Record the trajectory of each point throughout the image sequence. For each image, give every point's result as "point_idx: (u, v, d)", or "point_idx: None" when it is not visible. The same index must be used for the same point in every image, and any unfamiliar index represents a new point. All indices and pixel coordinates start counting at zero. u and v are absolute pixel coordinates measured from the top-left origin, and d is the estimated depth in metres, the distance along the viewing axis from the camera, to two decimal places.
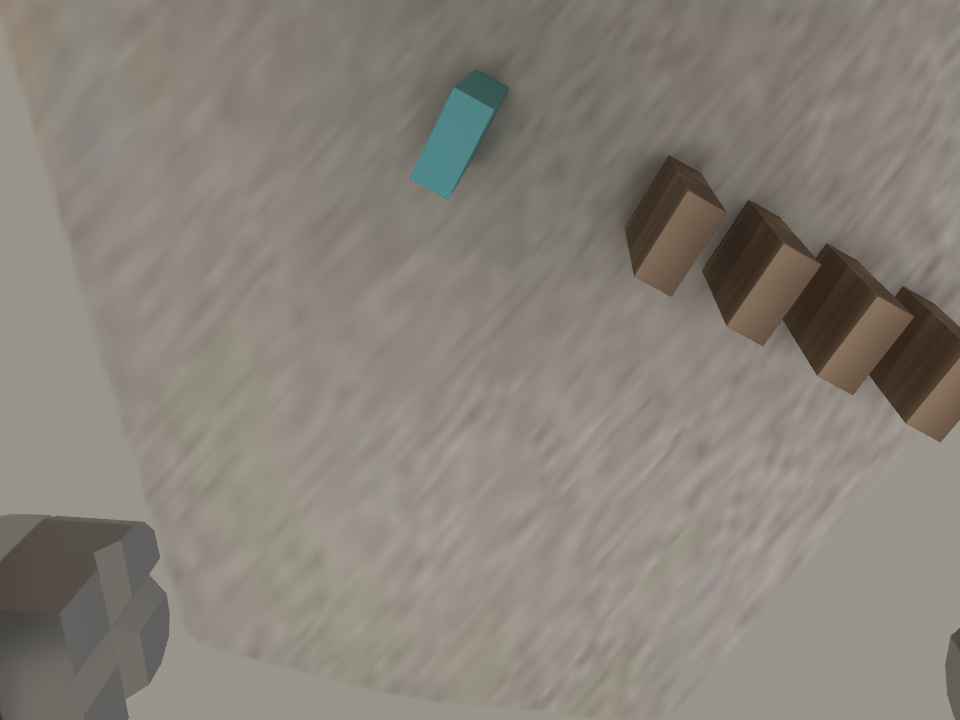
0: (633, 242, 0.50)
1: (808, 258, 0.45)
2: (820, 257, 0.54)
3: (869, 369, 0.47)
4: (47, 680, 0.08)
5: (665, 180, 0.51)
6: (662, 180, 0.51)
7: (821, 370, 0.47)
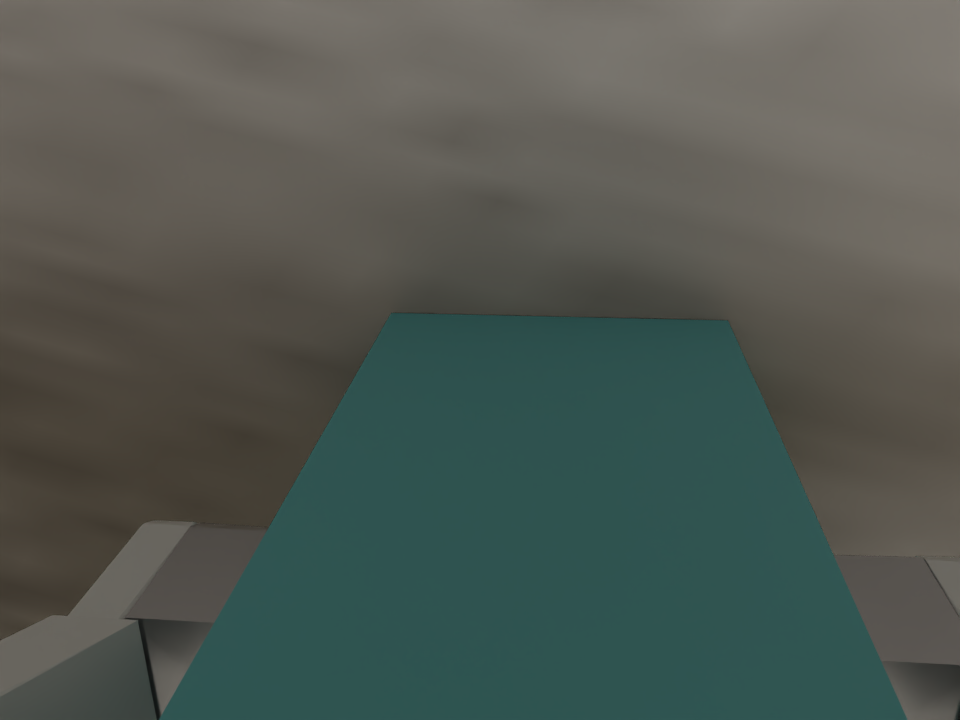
0: None
1: None
2: None
3: None
4: None
5: None
6: None
7: None
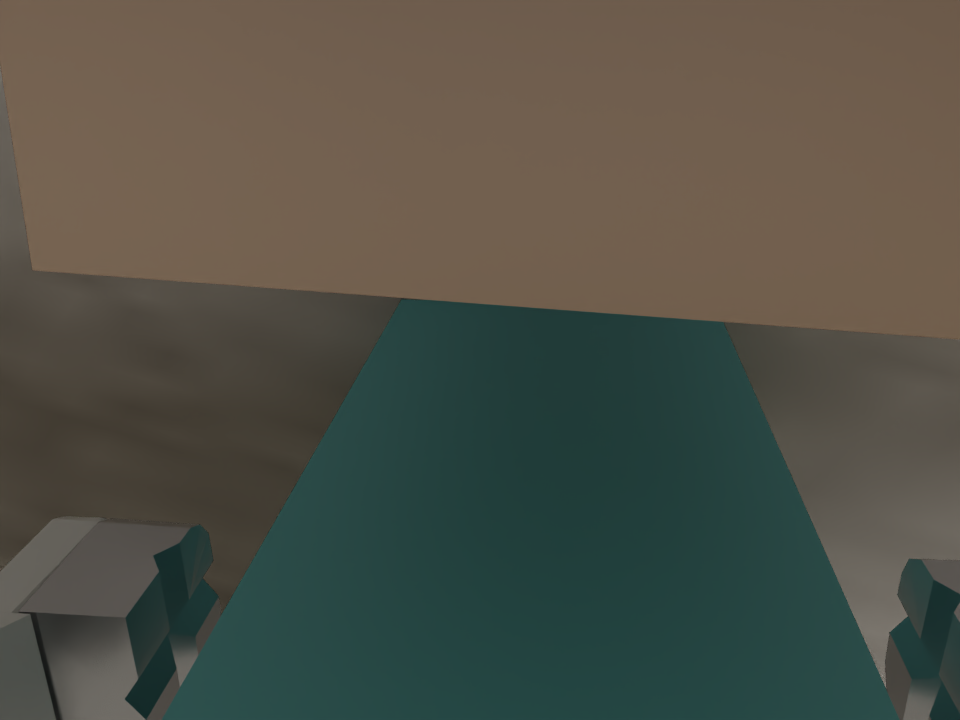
0: None
1: None
2: None
3: None
4: (111, 684, 0.08)
5: None
6: None
7: None
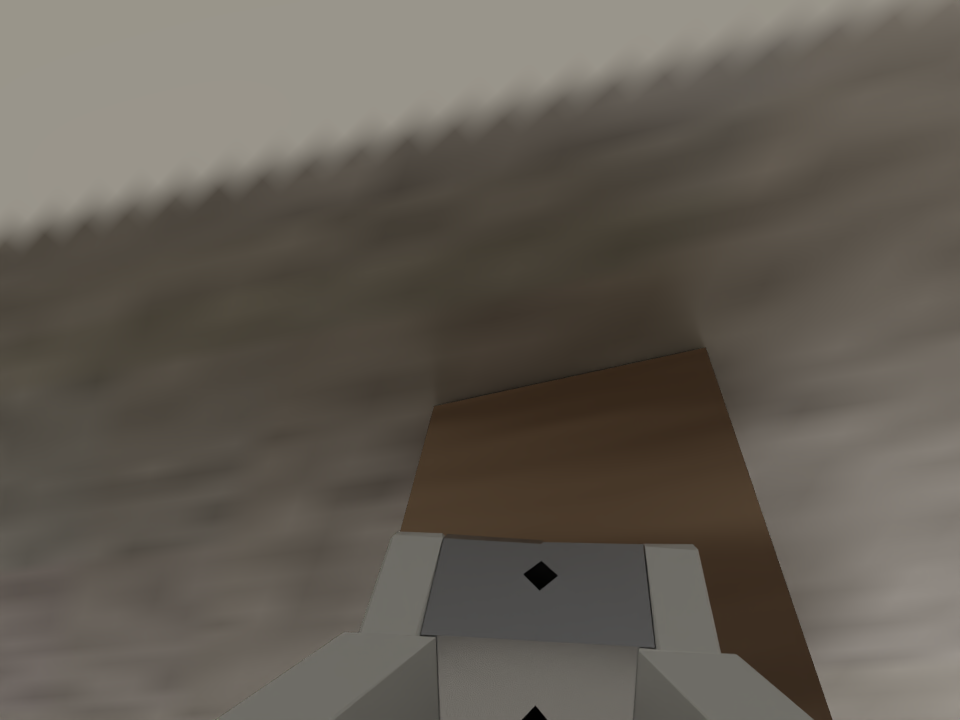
0: None
1: None
2: None
3: None
4: (504, 709, 0.07)
5: None
6: None
7: None
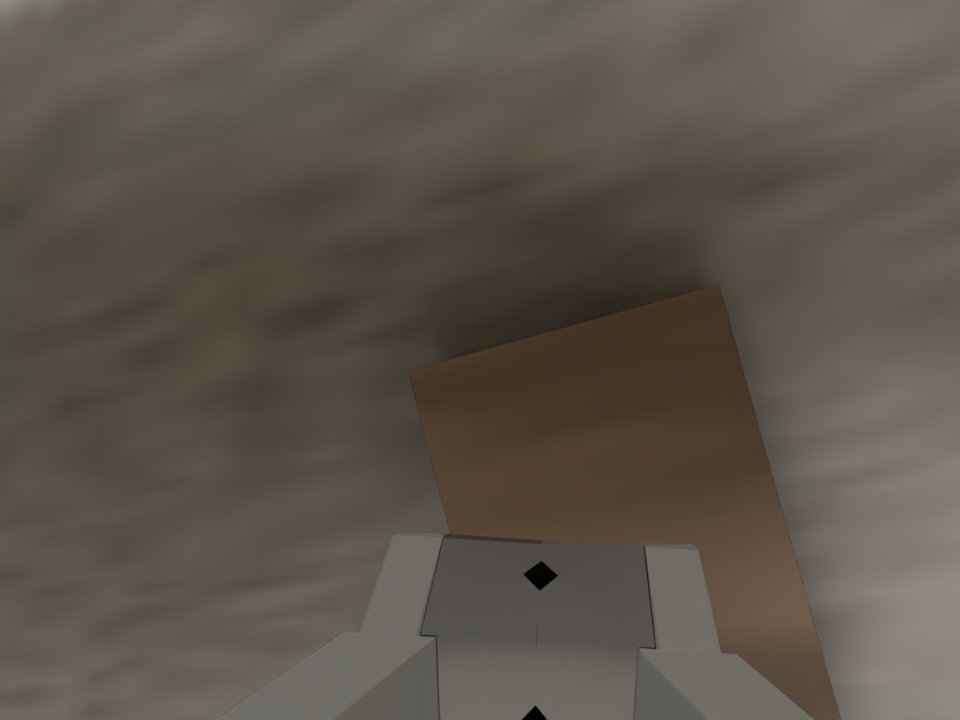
0: None
1: None
2: None
3: None
4: (505, 709, 0.07)
5: None
6: None
7: None
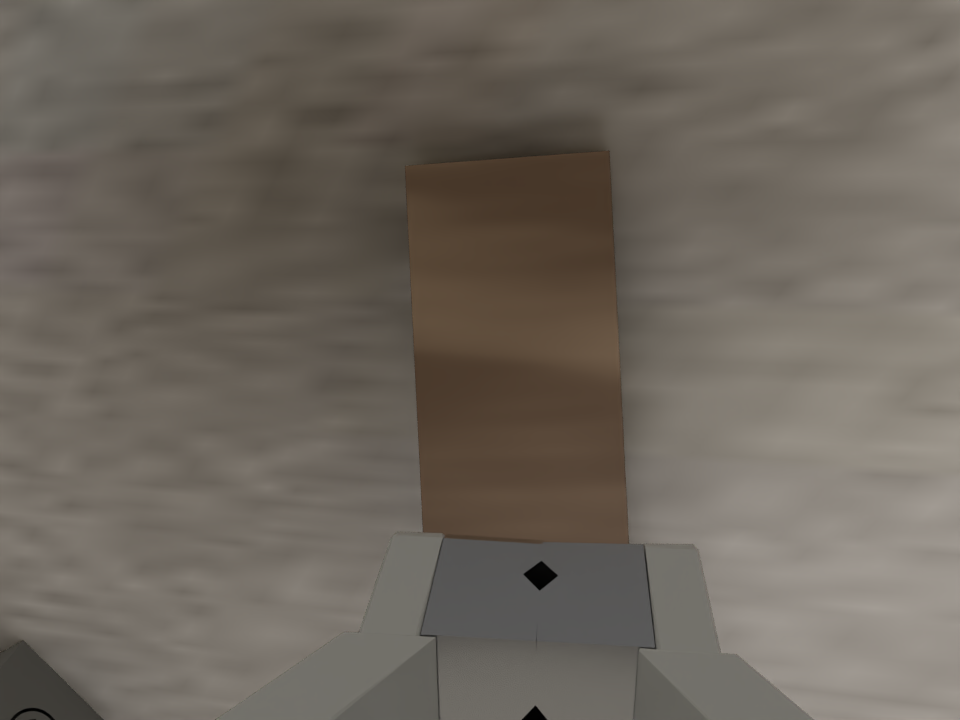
0: None
1: None
2: None
3: None
4: (504, 709, 0.07)
5: None
6: None
7: None
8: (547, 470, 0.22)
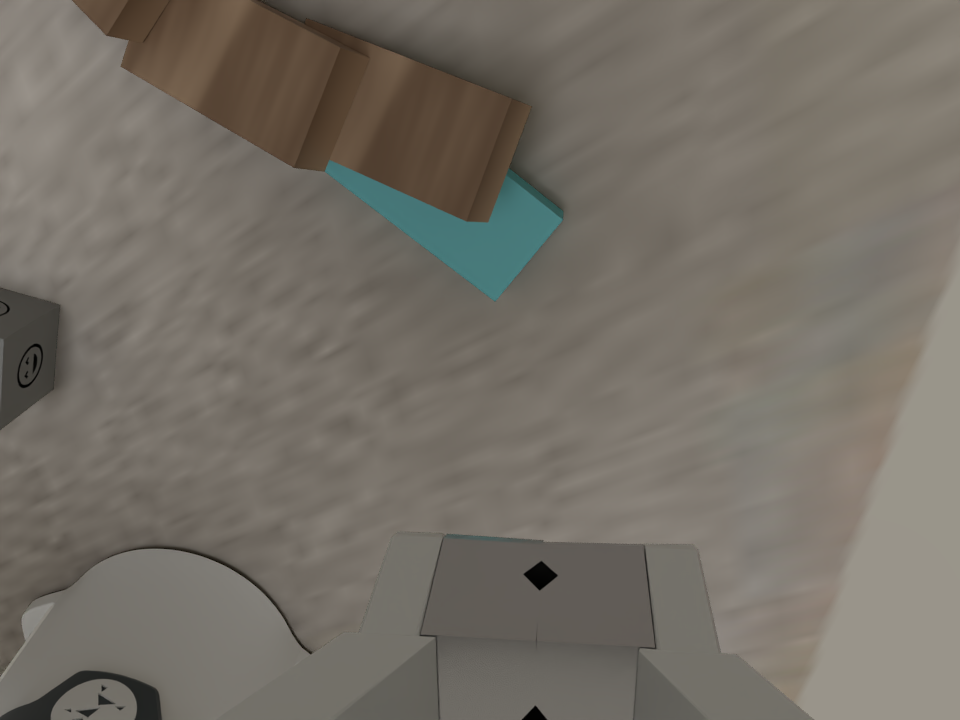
0: None
1: (304, 168, 0.37)
2: None
3: None
4: (504, 709, 0.07)
5: None
6: None
7: None
8: None
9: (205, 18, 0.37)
